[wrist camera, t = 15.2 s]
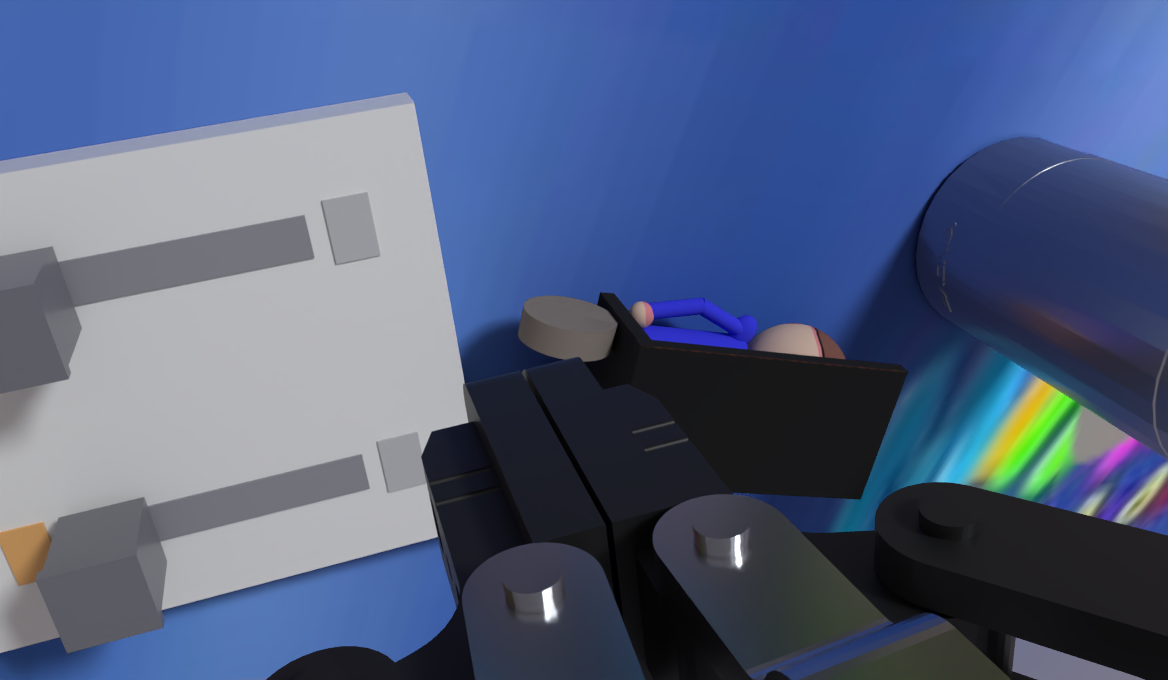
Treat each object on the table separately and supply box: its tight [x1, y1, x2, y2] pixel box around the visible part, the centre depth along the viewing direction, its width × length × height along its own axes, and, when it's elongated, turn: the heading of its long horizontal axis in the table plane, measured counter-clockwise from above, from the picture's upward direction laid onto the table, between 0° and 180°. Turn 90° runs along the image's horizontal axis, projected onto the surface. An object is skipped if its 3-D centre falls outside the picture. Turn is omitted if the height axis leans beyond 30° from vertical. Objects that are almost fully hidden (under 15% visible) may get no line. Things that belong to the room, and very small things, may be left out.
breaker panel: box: [0, 92, 468, 653], centre depth 38 cm, size 21×18×2 cm
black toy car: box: [518, 292, 908, 499], centre depth 42 cm, size 7×8×15 cm
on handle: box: [35, 497, 167, 653], centre depth 37 cm, size 3×3×4 cm
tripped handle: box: [0, 246, 82, 394], centre depth 32 cm, size 3×3×4 cm
